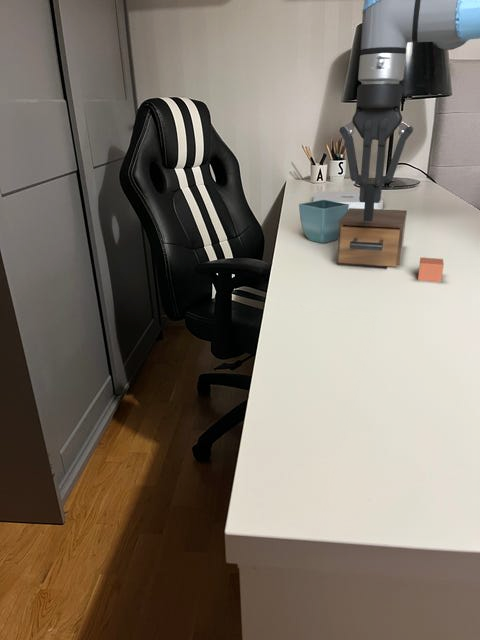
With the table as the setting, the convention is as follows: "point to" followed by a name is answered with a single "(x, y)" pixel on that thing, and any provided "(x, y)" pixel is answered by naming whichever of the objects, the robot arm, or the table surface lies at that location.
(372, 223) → the cabinet
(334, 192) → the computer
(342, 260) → the drawer
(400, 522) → the table surface
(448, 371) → the table surface
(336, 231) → the flower pot
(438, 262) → the block
